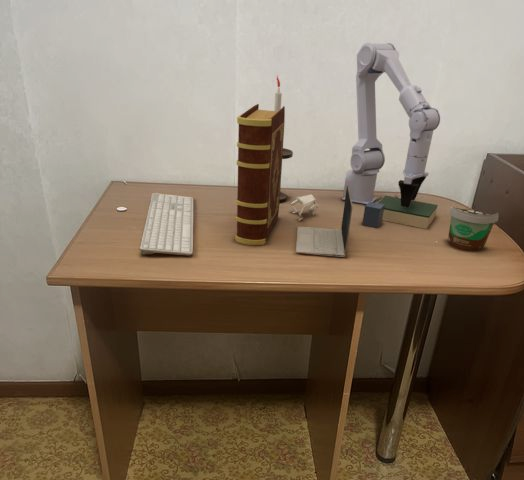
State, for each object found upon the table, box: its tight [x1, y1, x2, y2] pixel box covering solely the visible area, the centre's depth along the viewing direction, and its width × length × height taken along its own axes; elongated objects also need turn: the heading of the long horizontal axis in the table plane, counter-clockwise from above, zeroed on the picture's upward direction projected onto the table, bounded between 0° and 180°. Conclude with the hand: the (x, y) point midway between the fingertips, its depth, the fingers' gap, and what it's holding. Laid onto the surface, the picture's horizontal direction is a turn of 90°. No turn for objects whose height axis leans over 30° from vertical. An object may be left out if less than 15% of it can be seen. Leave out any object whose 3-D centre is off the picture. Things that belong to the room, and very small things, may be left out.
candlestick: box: [273, 74, 294, 203], centre depth 157 cm, size 11×11×35 cm
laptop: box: [295, 185, 353, 258], centre depth 133 cm, size 18×12×13 cm
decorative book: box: [234, 103, 286, 246], centre depth 134 cm, size 22×8×30 cm, turn 168°
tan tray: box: [382, 207, 438, 230], centre depth 155 cm, size 16×12×3 cm
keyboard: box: [139, 192, 194, 257], centre depth 142 cm, size 44×12×2 cm, turn 6°
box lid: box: [377, 195, 439, 218], centre depth 153 cm, size 16×12×4 cm
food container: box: [447, 203, 499, 252], centre depth 135 cm, size 12×6×10 cm, turn 62°
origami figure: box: [289, 193, 319, 222], centre depth 152 cm, size 12×8×5 cm
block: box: [361, 202, 385, 228], centre depth 149 cm, size 4×4×6 cm
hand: (407, 203), depth 154 cm, fingers open, 7 cm apart
